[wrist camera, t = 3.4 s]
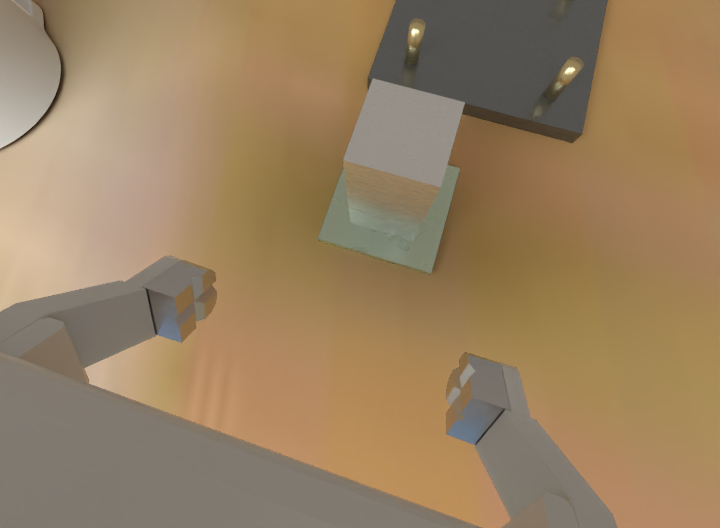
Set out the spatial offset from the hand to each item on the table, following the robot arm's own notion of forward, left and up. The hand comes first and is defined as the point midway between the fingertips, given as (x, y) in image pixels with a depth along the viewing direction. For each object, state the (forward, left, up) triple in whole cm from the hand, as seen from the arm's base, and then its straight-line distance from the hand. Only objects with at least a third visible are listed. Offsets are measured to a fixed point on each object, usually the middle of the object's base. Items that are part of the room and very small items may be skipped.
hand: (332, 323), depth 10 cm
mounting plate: (+4, +29, -14) cm, 33 cm away
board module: (0, +10, -14) cm, 17 cm away
